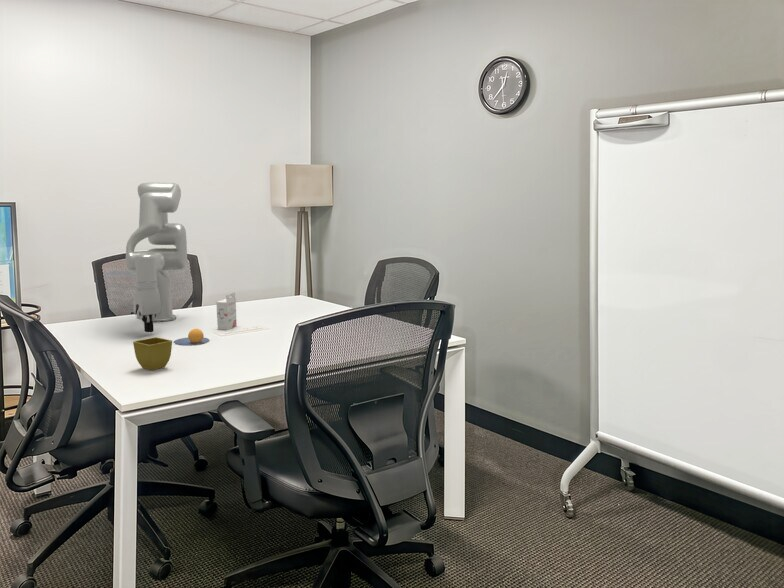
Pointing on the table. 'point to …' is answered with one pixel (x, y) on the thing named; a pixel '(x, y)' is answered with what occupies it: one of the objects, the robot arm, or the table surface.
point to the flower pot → (153, 352)
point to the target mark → (187, 342)
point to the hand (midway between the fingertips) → (149, 331)
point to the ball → (195, 335)
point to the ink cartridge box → (226, 312)
